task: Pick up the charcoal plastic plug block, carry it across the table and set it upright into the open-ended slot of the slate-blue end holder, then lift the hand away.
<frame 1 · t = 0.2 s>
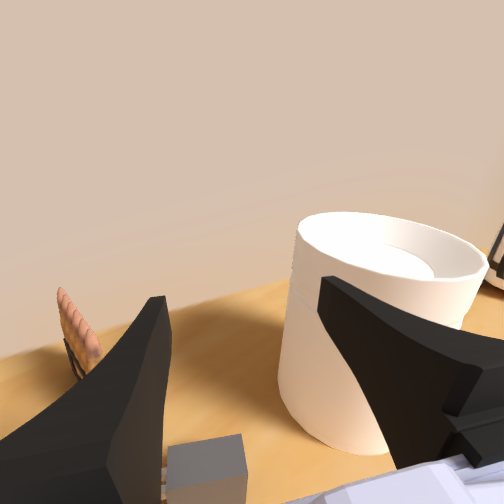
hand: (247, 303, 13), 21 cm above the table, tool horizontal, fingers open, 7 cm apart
ammunition clip: (96, 392, 32), on the table
canister: (341, 386, 34), on the table
charcoal plug: (207, 493, 23), on the table
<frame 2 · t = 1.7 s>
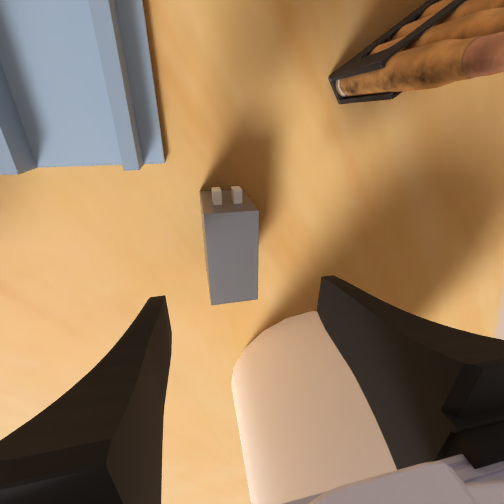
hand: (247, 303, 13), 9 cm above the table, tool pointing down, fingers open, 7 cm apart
end holder: (56, 41, 14), on the table
ammunition clip: (402, 38, 17), on the table
canister: (303, 367, 30), on the table
charcoal plug: (223, 229, 20), on the table
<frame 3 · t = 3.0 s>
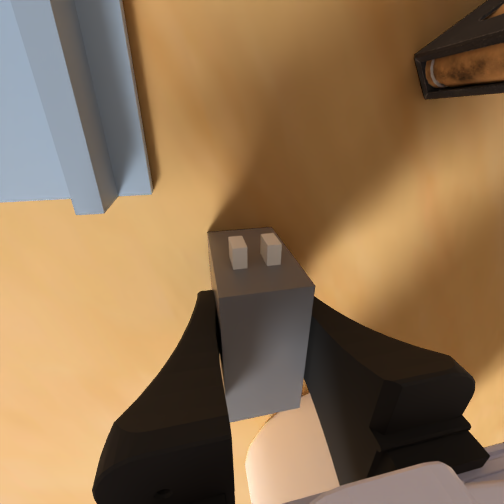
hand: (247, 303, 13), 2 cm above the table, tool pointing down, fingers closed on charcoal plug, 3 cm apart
canister: (336, 438, 23), on the table
charcoal plug: (241, 284, 14), on the table, touching gripper
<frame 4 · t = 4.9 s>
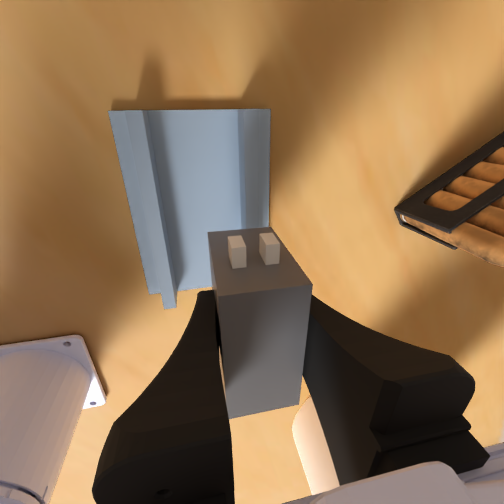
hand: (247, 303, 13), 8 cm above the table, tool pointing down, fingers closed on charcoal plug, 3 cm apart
end holder: (202, 208, 19), on the table
ammunition clip: (452, 176, 22), on the table
canister: (351, 411, 35), on the table
charcoal plug: (241, 283, 14), point 7 cm above the table, touching gripper
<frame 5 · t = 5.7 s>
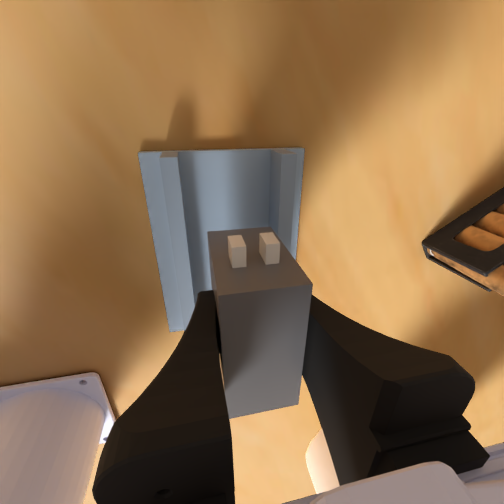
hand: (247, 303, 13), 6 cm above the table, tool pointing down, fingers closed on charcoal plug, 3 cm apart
end holder: (228, 246, 18), on the table
ammunition clip: (480, 210, 21), on the table
canister: (365, 437, 34), on the table
charcoal plug: (240, 282, 14), point 4 cm above the table, touching gripper
when the fingers open (3 cm above the table, at t = 6.6 s): charcoal plug stays where it is, resting on end holder.
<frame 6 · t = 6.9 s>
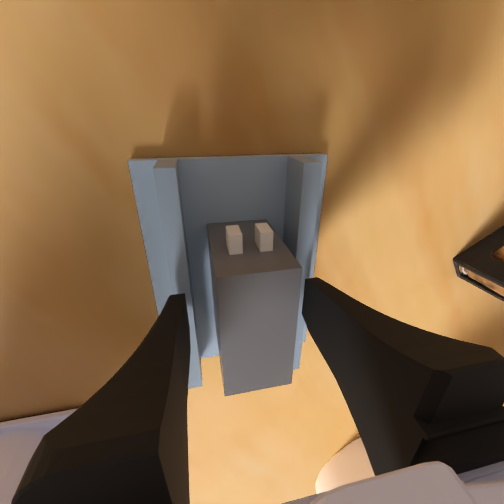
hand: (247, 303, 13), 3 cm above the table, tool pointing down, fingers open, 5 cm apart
end holder: (235, 267, 15), on the table
canister: (379, 462, 31), on the table
charcoal plug: (238, 272, 15), point 1 cm above the table, touching end holder
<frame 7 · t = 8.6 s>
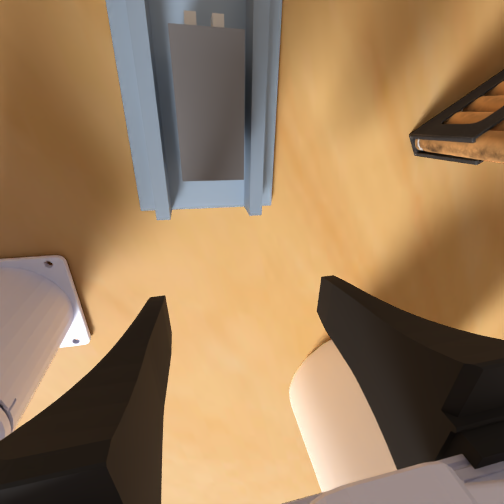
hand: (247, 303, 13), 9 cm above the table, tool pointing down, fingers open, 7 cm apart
end holder: (203, 111, 17), on the table
ammunition clip: (471, 103, 21), on the table
canister: (351, 376, 33), on the table
charcoal plug: (204, 112, 16), point 1 cm above the table, touching end holder
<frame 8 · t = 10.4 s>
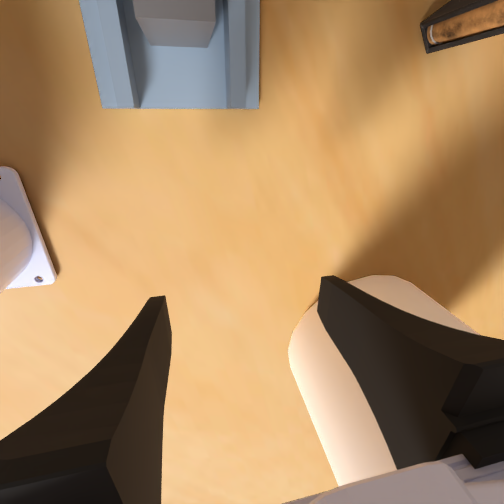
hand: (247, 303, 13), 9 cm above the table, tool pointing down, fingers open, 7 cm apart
canister: (356, 336, 30), on the table
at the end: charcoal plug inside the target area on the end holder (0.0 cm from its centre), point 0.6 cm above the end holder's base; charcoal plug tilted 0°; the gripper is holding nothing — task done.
